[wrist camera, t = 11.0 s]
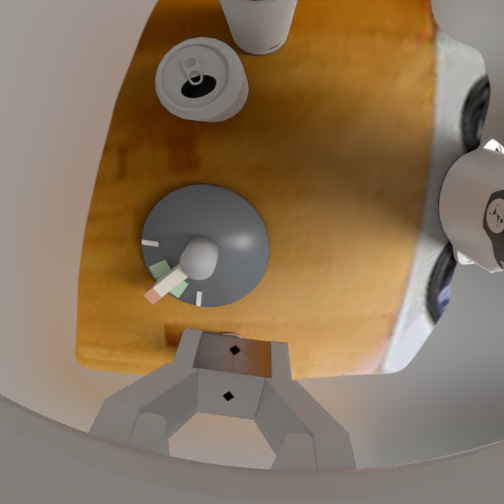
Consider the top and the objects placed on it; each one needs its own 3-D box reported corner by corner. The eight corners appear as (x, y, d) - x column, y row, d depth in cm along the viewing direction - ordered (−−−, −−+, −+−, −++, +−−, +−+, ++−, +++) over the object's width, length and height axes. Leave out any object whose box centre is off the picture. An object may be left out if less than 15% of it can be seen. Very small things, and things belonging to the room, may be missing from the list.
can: (193, 130, 34) (161, 132, 23) (176, 72, 31) (138, 51, 20) (256, 112, 33) (253, 104, 22) (239, 53, 30) (228, 20, 19)
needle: (204, 229, 37) (198, 240, 33) (225, 254, 38) (222, 267, 35) (143, 279, 40) (134, 292, 36) (164, 300, 41) (156, 315, 37)
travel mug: (288, 58, 30) (317, -14, 12) (230, 54, 30) (194, -20, 12) (291, 12, 28) (318, -84, 9) (234, 8, 28) (208, -89, 9)
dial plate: (279, 194, 36) (280, 196, 35) (258, 310, 42) (258, 315, 41) (147, 176, 36) (143, 178, 35) (144, 291, 42) (141, 296, 41)
